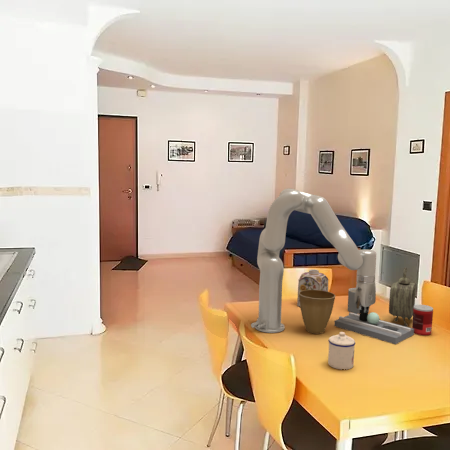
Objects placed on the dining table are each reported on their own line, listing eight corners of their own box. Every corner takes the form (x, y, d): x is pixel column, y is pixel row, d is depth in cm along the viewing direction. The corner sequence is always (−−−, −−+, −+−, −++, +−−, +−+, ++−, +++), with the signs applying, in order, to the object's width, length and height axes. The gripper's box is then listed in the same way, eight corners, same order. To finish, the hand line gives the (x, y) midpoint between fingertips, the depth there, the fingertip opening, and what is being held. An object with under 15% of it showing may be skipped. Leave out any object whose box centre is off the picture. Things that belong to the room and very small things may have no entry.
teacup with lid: (358, 370, 162) (359, 337, 161) (332, 370, 161) (333, 337, 160) (345, 355, 174) (347, 325, 173) (321, 356, 173) (322, 325, 172)
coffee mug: (371, 314, 224) (372, 293, 222) (350, 313, 224) (351, 293, 222) (363, 305, 237) (364, 286, 236) (343, 305, 237) (344, 285, 236)
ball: (363, 316, 202) (369, 327, 200) (373, 311, 199) (379, 322, 198) (367, 314, 206) (373, 324, 204) (377, 309, 203) (383, 320, 202)
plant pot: (333, 338, 191) (335, 299, 189) (296, 335, 194) (298, 297, 192) (333, 326, 206) (334, 290, 204) (298, 323, 209) (299, 288, 207)
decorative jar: (318, 310, 228) (320, 273, 226) (296, 306, 234) (297, 270, 232) (328, 304, 238) (329, 269, 236) (306, 300, 244) (307, 266, 242)
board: (334, 326, 206) (334, 318, 206) (353, 318, 217) (354, 310, 217) (395, 344, 186) (396, 335, 186) (413, 334, 197) (414, 326, 197)
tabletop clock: (409, 328, 204) (413, 271, 201) (387, 325, 208) (390, 269, 205) (413, 319, 217) (417, 265, 214) (392, 316, 221) (396, 263, 218)
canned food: (431, 331, 202) (433, 306, 201) (431, 337, 195) (433, 311, 193) (412, 328, 205) (414, 303, 204) (411, 334, 198) (412, 308, 196)
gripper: (364, 283, 194) (362, 326, 197) (382, 277, 205) (380, 318, 207) (348, 280, 200) (346, 322, 202) (366, 274, 210) (364, 314, 213)
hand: (363, 320), depth 205 cm, fingers closed
